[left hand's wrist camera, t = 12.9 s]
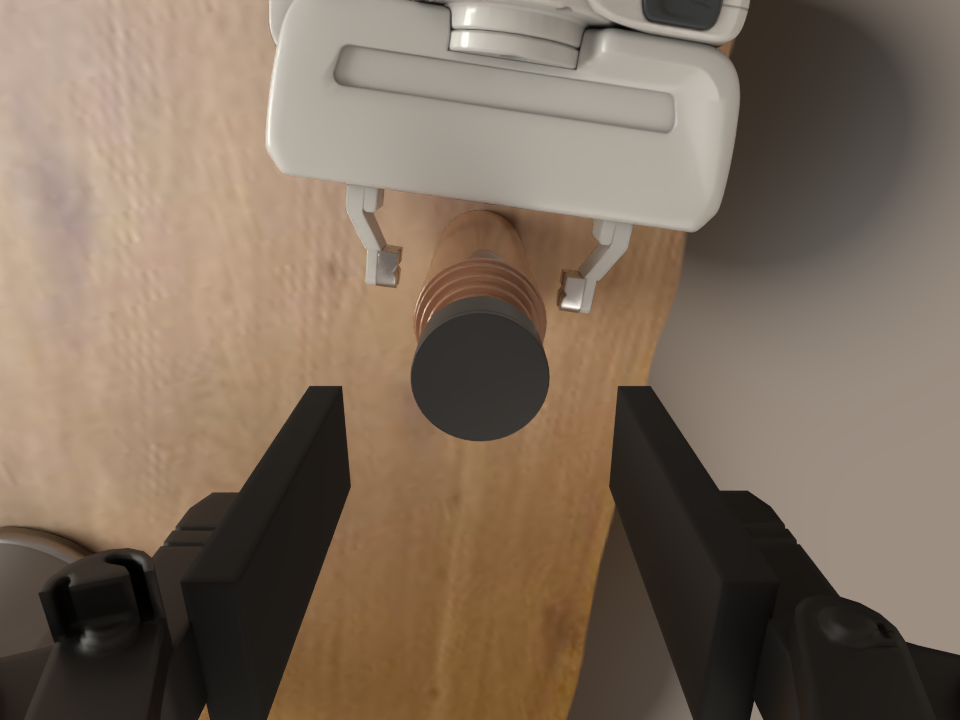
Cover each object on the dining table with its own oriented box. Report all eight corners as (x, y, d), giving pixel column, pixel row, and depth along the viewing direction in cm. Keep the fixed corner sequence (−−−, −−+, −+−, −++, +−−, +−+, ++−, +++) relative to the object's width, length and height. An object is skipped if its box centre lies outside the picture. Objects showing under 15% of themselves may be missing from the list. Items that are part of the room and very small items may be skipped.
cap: (551, 302, 19) (558, 320, 17) (534, 419, 20) (539, 447, 19) (421, 289, 19) (414, 306, 17) (413, 408, 20) (406, 435, 19)
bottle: (527, 214, 35) (576, 302, 17) (517, 298, 37) (551, 455, 19) (440, 205, 35) (400, 285, 17) (434, 290, 37) (392, 441, 19)
